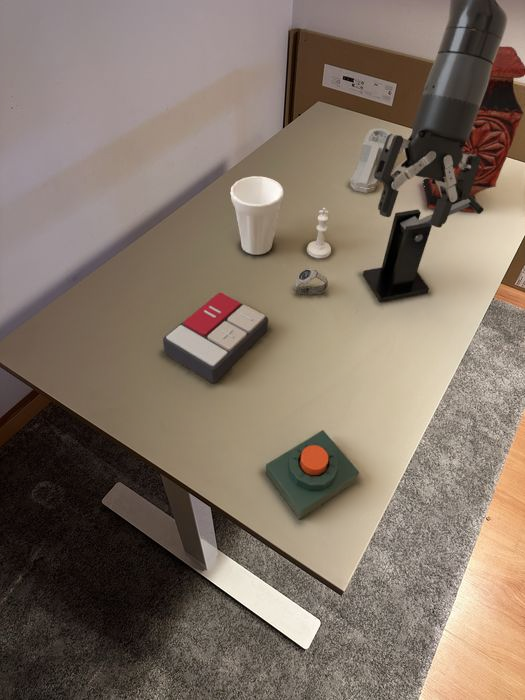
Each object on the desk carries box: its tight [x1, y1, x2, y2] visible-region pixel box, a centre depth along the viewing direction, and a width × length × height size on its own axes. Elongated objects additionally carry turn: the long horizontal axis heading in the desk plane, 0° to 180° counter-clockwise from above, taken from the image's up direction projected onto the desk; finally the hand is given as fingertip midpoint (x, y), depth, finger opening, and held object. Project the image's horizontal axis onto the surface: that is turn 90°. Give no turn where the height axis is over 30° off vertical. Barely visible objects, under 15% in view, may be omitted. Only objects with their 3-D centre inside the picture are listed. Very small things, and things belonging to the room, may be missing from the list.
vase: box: [422, 45, 525, 213], centre depth 105 cm, size 14×14×30 cm
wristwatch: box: [294, 268, 329, 296], centre depth 93 cm, size 4×6×5 cm, turn 91°
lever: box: [400, 195, 484, 235], centre depth 87 cm, size 13×6×2 cm, turn 106°
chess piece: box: [306, 207, 332, 259], centre depth 99 cm, size 5×5×10 cm
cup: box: [230, 175, 284, 256], centre depth 99 cm, size 10×10×13 cm
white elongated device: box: [349, 127, 393, 194], centre depth 120 cm, size 6×18×8 cm, turn 159°
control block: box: [265, 429, 360, 520], centre depth 69 cm, size 8×10×4 cm
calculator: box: [162, 291, 269, 384], centre depth 85 cm, size 11×4×15 cm
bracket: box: [362, 208, 433, 304], centre depth 91 cm, size 10×8×15 cm
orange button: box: [300, 445, 328, 476], centre depth 67 cm, size 4×4×2 cm
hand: (410, 221), depth 72 cm, fingers open, 8 cm apart
